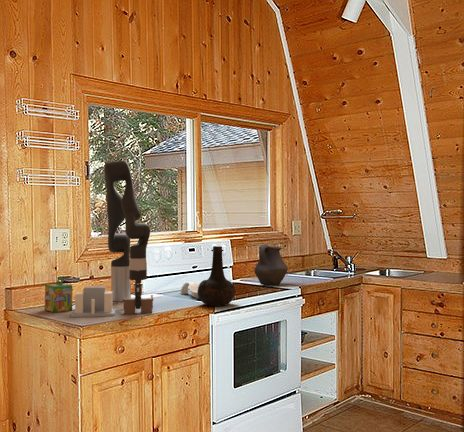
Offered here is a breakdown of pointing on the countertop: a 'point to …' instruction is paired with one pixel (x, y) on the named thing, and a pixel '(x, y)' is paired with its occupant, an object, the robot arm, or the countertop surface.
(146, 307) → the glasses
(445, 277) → the countertop surface
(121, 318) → the countertop surface
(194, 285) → the spoon rest
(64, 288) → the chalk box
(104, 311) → the display stand
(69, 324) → the countertop surface
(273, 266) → the pitcher
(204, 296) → the glass bottle
